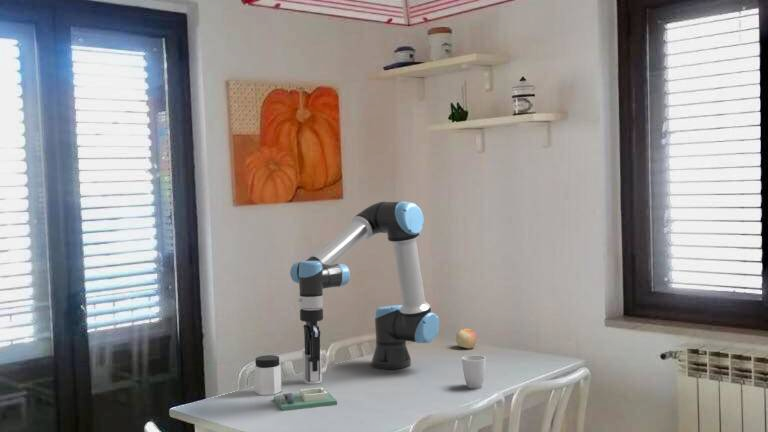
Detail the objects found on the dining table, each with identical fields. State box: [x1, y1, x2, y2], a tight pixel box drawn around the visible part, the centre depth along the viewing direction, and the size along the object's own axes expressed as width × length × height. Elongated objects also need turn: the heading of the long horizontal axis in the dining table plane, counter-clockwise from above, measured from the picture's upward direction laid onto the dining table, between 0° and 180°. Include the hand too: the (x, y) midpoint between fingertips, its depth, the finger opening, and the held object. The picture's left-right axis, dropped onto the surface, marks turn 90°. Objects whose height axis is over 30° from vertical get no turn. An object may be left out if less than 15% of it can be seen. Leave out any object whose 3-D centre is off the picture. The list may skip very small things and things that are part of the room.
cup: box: [461, 354, 487, 389], centre depth 282 cm, size 8×8×10 cm
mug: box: [302, 347, 329, 385], centre depth 294 cm, size 10×7×12 cm, turn 127°
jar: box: [254, 354, 282, 396], centre depth 280 cm, size 9×8×12 cm
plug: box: [305, 355, 321, 382], centre depth 268 cm, size 5×4×8 cm
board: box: [273, 386, 338, 412], centre depth 267 cm, size 18×14×4 cm
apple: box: [455, 328, 478, 349], centre depth 344 cm, size 9×9×8 cm
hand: (312, 378), depth 268 cm, fingers closed on plug, 4 cm apart
